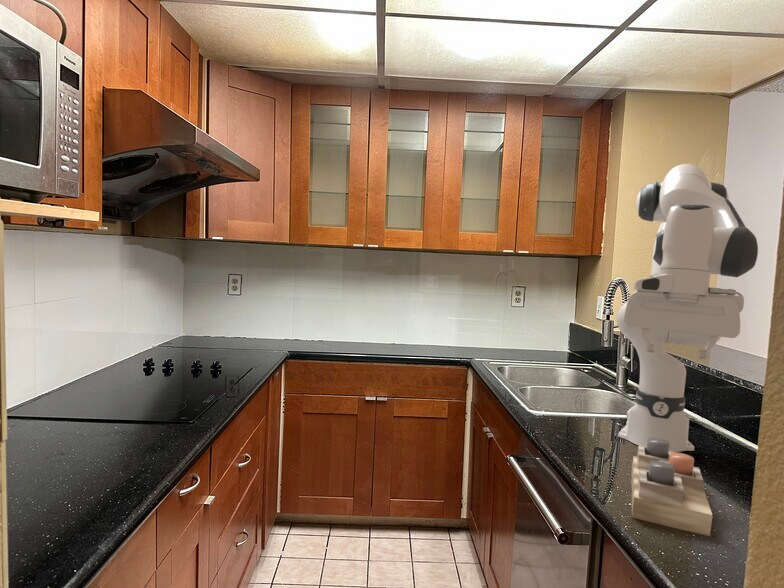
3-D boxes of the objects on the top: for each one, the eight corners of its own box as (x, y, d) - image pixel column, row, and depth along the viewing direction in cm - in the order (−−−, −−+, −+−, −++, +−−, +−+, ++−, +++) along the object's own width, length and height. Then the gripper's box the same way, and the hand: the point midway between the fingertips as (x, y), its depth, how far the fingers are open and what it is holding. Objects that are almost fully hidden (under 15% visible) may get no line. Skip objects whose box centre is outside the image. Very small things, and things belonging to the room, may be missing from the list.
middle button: (667, 464, 113) (669, 450, 113) (691, 469, 111) (693, 455, 111) (669, 471, 109) (670, 457, 109) (693, 477, 107) (695, 462, 107)
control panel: (631, 472, 126) (634, 443, 125) (694, 485, 121) (698, 455, 120) (631, 517, 103) (635, 482, 102) (709, 536, 98) (714, 499, 97)
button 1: (645, 449, 122) (647, 436, 122) (667, 453, 120) (668, 440, 120) (646, 455, 118) (647, 441, 118) (668, 459, 116) (670, 446, 116)
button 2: (647, 473, 108) (649, 459, 107) (672, 478, 106) (674, 463, 106) (648, 481, 104) (650, 466, 103) (674, 487, 102) (675, 471, 102)
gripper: (741, 290, 105) (734, 361, 105) (627, 281, 113) (620, 347, 113) (748, 289, 99) (740, 364, 99) (627, 280, 107) (620, 349, 107)
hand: (675, 355), depth 106 cm, fingers open, 8 cm apart
